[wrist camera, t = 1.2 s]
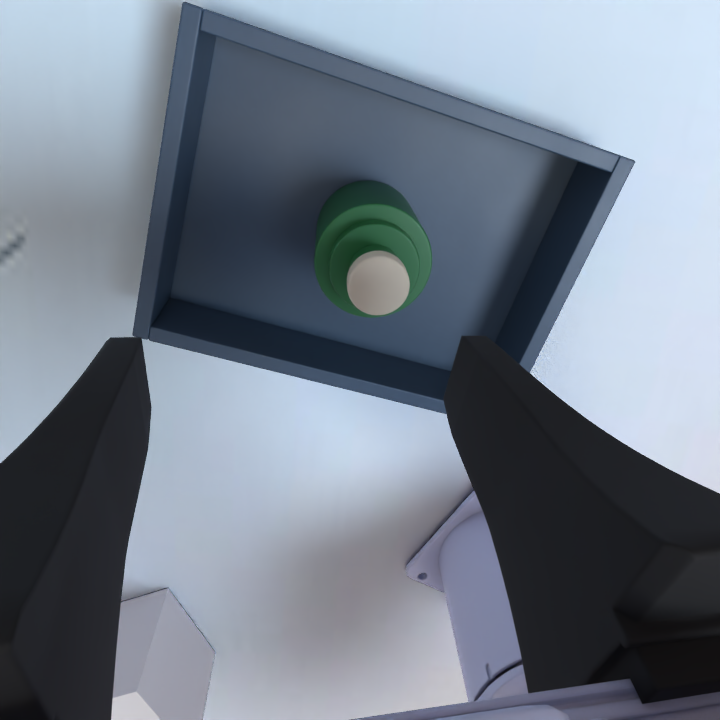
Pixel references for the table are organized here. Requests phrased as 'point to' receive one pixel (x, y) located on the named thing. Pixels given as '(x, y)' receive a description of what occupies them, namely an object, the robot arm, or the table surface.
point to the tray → (323, 178)
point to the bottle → (371, 250)
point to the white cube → (160, 661)
